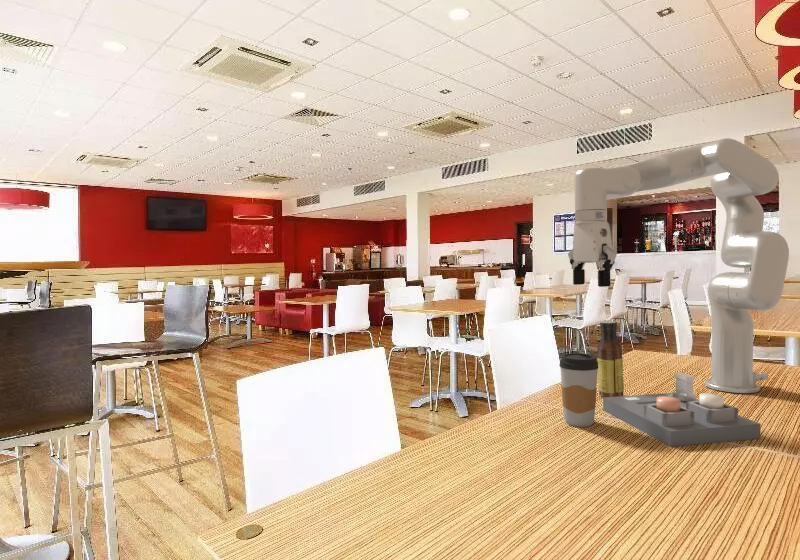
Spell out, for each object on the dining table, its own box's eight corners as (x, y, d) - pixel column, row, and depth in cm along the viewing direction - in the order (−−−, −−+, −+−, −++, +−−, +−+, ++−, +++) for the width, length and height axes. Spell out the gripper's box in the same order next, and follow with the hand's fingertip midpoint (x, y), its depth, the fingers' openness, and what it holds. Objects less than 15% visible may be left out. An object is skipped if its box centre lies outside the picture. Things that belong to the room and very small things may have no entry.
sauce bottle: (619, 393, 137) (619, 319, 136) (627, 399, 131) (627, 323, 130) (594, 393, 138) (594, 320, 137) (601, 399, 132) (600, 323, 131)
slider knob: (684, 395, 122) (684, 372, 122) (696, 400, 118) (696, 376, 118) (672, 396, 122) (672, 373, 122) (683, 401, 118) (684, 377, 118)
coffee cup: (600, 418, 117) (599, 353, 116) (597, 430, 110) (597, 361, 109) (562, 414, 121) (561, 351, 120) (557, 425, 113) (556, 358, 112)
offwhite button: (712, 403, 110) (712, 392, 110) (728, 409, 106) (729, 398, 106) (694, 404, 110) (694, 393, 109) (709, 411, 105) (710, 399, 105)
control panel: (677, 404, 127) (678, 382, 126) (760, 438, 103) (760, 411, 103) (603, 409, 124) (603, 387, 123) (670, 446, 100) (670, 418, 100)
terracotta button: (670, 406, 109) (670, 395, 109) (685, 413, 104) (685, 401, 104) (651, 408, 108) (652, 397, 108) (665, 414, 104) (665, 402, 104)
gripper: (627, 215, 122) (627, 286, 123) (581, 220, 139) (581, 283, 140) (601, 215, 120) (601, 288, 121) (557, 220, 137) (558, 284, 138)
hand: (591, 285), depth 130 cm, fingers open, 9 cm apart
